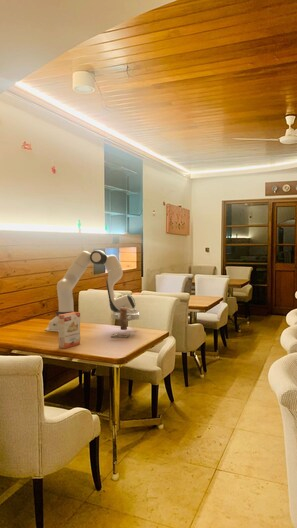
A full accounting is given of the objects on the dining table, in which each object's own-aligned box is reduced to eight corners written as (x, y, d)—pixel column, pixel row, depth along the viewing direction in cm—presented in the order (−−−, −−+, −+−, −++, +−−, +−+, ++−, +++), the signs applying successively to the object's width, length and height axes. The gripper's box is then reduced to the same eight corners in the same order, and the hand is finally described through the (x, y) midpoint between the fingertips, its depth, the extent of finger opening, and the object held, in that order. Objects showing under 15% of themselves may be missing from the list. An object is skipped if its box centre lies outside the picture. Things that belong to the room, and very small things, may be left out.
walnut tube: (119, 329, 271) (119, 308, 270) (121, 328, 276) (120, 307, 275) (126, 330, 270) (126, 308, 270) (127, 328, 275) (127, 307, 274)
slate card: (110, 337, 271) (110, 336, 271) (113, 334, 279) (113, 333, 279) (127, 338, 269) (127, 336, 269) (130, 335, 277) (130, 334, 277)
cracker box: (65, 349, 241) (64, 315, 240) (58, 347, 244) (57, 314, 243) (80, 344, 253) (80, 312, 252) (74, 342, 256) (73, 311, 255)
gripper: (113, 310, 287) (108, 313, 273) (141, 310, 284) (137, 313, 270) (114, 318, 287) (108, 322, 274) (141, 319, 284) (137, 322, 270)
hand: (123, 318), depth 272 cm, fingers closed on walnut tube, 4 cm apart
